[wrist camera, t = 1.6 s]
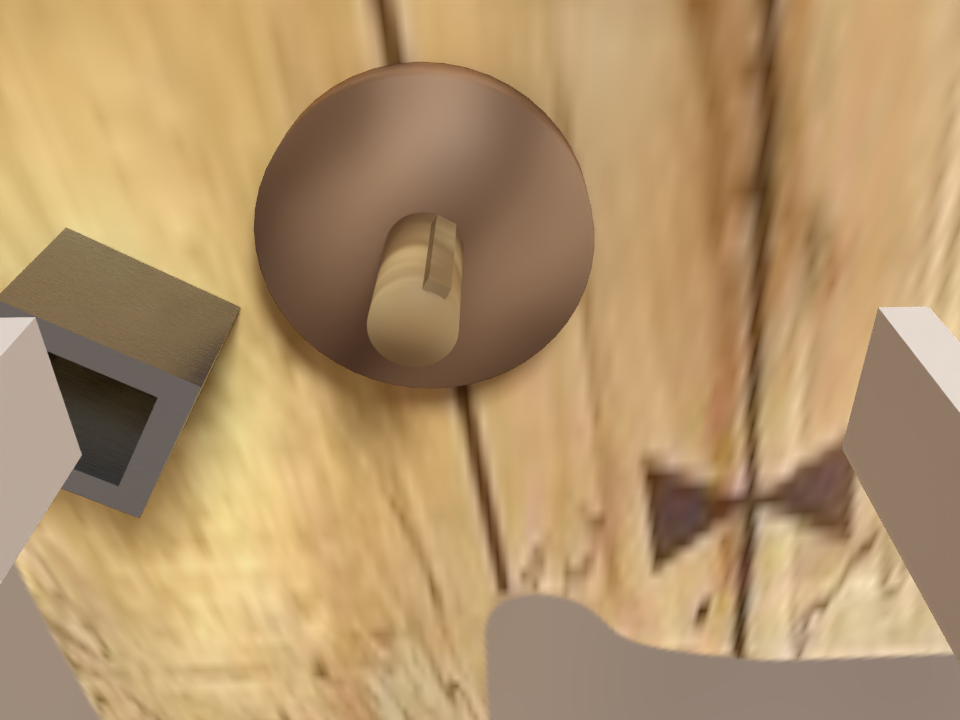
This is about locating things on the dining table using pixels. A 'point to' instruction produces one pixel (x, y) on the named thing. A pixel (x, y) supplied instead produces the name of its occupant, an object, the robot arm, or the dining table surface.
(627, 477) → the dining table surface
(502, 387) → the dining table surface
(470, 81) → the round base with post
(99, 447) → the hollow square box
